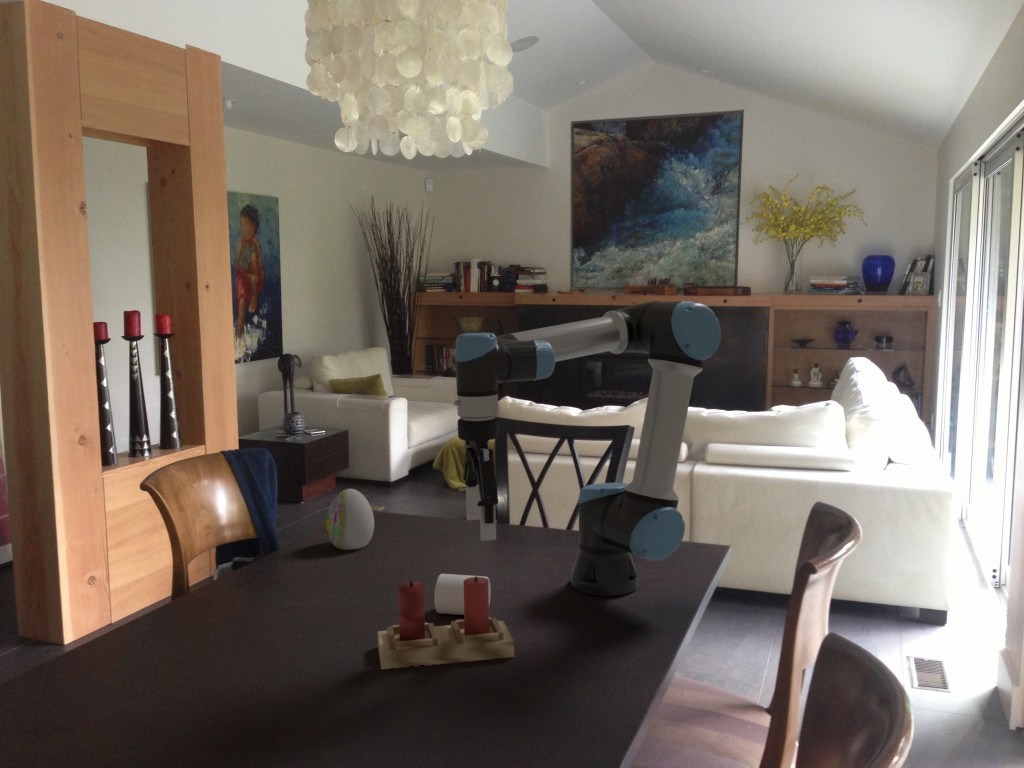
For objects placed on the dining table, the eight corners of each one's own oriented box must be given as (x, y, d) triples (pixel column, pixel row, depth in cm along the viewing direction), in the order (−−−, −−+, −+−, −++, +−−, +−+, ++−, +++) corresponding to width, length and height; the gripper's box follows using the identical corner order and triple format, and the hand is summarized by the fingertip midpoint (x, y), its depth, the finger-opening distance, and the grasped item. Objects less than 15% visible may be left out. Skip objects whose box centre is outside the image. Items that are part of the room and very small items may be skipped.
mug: (482, 622, 175) (481, 584, 174) (434, 619, 177) (433, 581, 176) (495, 601, 186) (494, 565, 185) (450, 598, 188) (449, 562, 187)
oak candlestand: (503, 635, 168) (502, 566, 166) (514, 657, 158) (514, 583, 157) (377, 646, 163) (376, 575, 161) (381, 669, 153) (379, 593, 152)
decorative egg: (326, 540, 231) (324, 485, 229) (372, 537, 234) (371, 482, 232) (327, 554, 219) (326, 496, 217) (376, 550, 222) (375, 493, 220)
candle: (486, 627, 164) (486, 572, 163) (491, 637, 160) (490, 580, 158) (462, 629, 163) (461, 573, 162) (466, 639, 159) (465, 582, 157)
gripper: (446, 408, 171) (450, 513, 174) (470, 429, 147) (473, 551, 149) (484, 406, 173) (486, 510, 175) (513, 427, 149) (516, 547, 151)
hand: (480, 529), depth 162 cm, fingers open, 13 cm apart
